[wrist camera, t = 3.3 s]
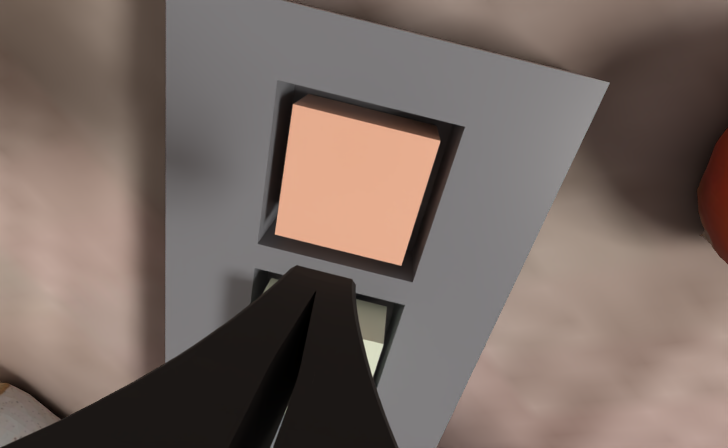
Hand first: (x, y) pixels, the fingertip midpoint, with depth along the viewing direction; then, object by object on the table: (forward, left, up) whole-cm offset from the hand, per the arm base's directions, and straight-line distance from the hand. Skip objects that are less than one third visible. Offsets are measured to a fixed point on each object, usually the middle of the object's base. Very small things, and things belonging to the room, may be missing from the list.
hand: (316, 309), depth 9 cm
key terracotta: (0, -1, -7) cm, 7 cm away
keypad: (0, +9, -8) cm, 12 cm away
